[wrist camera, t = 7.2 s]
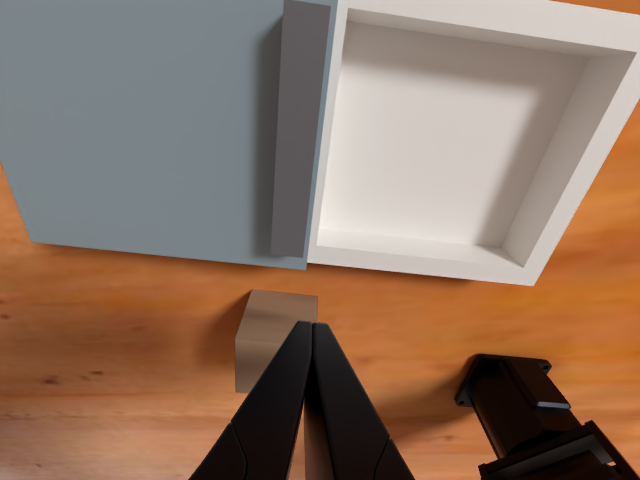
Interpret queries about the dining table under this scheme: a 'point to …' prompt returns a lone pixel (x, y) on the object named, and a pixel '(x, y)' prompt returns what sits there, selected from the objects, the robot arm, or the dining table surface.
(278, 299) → the walnut block
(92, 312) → the dining table surface
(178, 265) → the dining table surface
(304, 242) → the sliding cover
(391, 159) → the white sliding-lid box
